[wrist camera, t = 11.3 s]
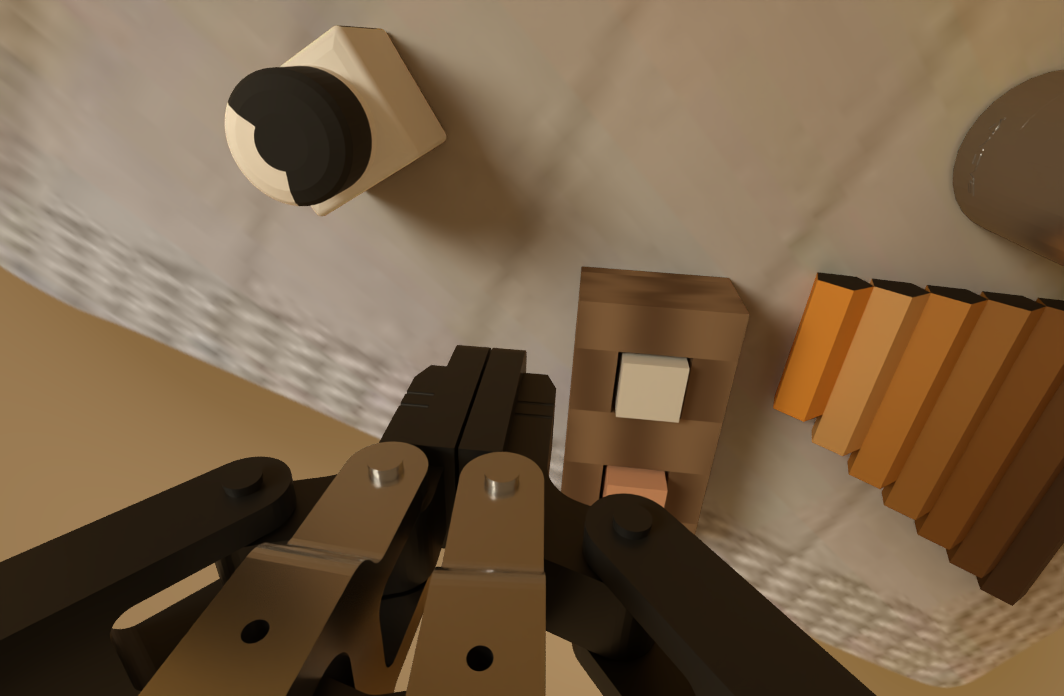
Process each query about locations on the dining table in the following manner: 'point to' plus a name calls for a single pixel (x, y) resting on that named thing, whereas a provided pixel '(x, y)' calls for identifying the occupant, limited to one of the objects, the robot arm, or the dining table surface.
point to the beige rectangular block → (650, 386)
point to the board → (659, 329)
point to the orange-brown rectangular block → (634, 482)
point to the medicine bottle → (330, 120)
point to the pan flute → (942, 413)
